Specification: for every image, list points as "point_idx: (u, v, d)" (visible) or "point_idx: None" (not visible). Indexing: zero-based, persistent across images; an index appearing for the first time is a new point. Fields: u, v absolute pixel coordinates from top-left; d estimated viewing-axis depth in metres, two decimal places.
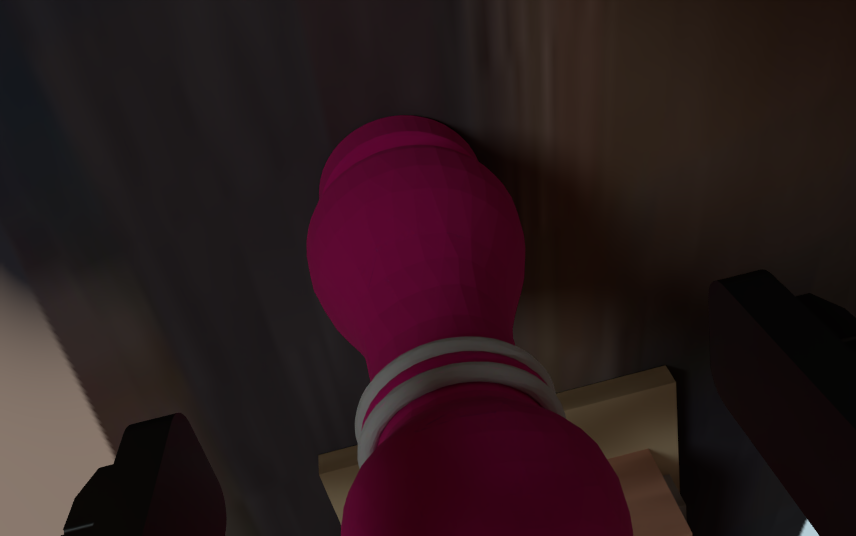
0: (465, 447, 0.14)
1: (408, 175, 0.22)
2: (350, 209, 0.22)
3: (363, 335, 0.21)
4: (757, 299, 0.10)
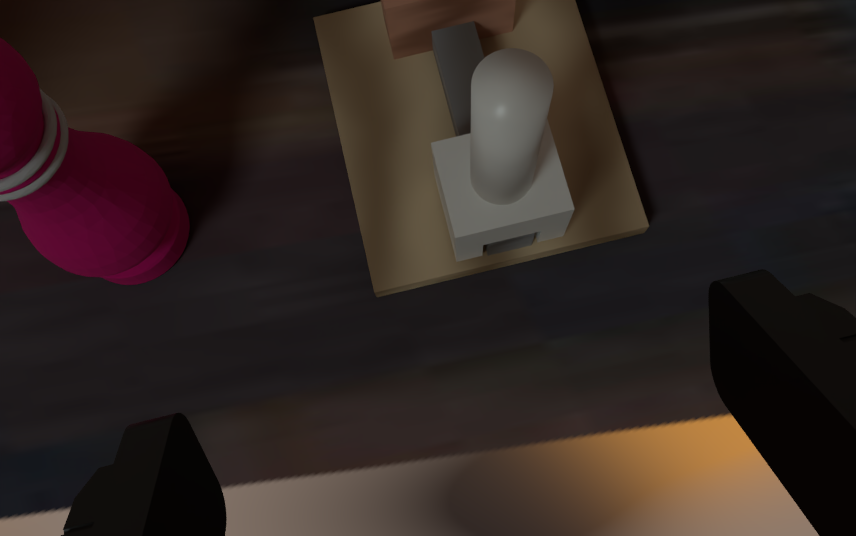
0: None
1: None
2: (29, 239, 0.37)
3: (29, 214, 0.33)
4: (757, 299, 0.10)
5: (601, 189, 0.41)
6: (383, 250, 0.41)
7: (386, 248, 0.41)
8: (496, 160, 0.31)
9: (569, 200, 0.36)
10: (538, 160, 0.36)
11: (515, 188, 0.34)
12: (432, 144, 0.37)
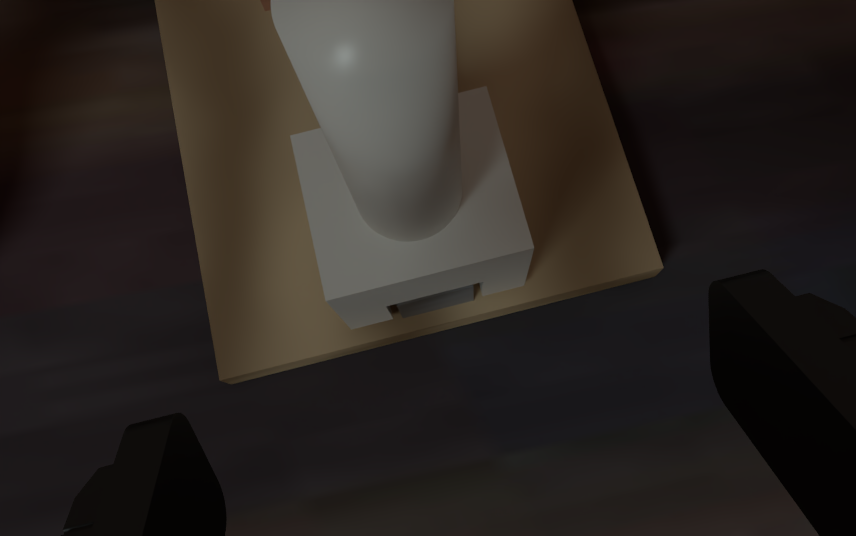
0: None
1: None
2: None
3: None
4: (757, 299, 0.10)
5: (586, 209, 0.25)
6: (236, 311, 0.25)
7: (242, 307, 0.25)
8: (363, 163, 0.15)
9: (525, 232, 0.20)
10: (472, 163, 0.21)
11: (422, 214, 0.19)
12: (292, 138, 0.22)
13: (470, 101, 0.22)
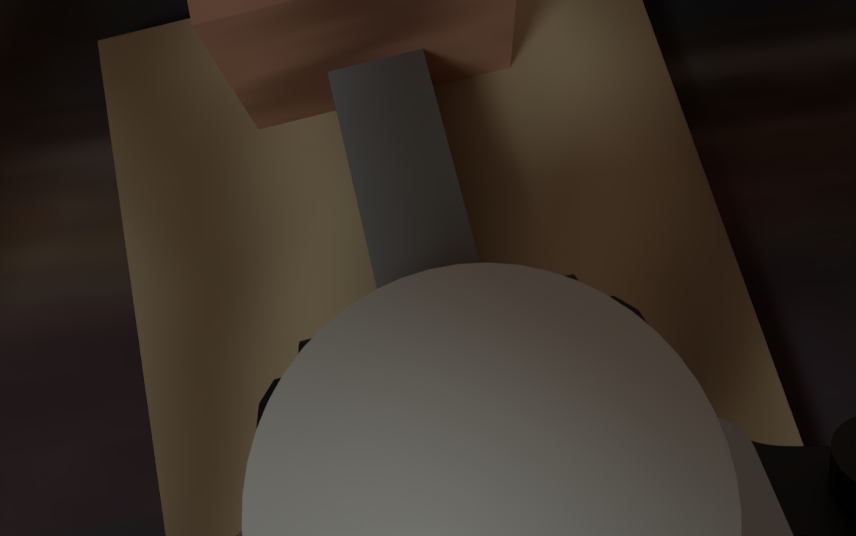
0: None
1: None
2: None
3: None
4: None
5: None
6: None
7: None
8: None
9: None
10: None
11: None
12: None
13: None
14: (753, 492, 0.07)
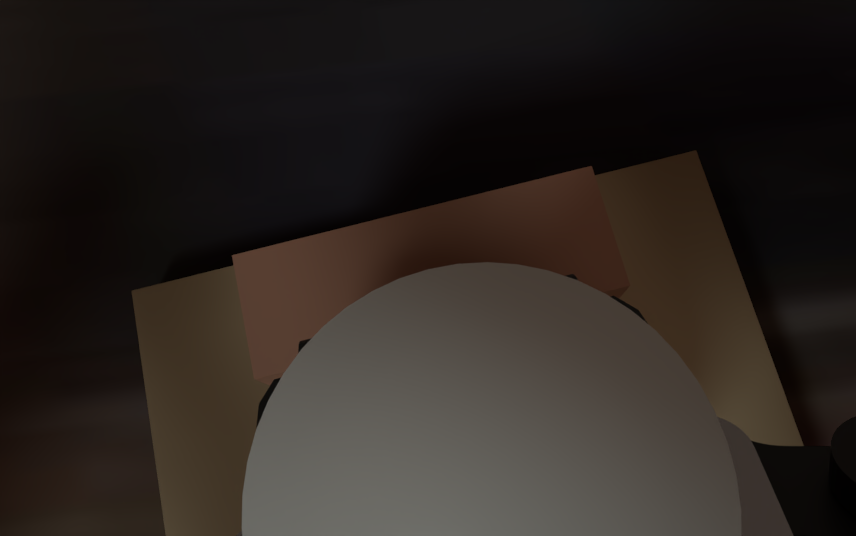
0: None
1: None
2: None
3: None
4: None
5: None
6: None
7: None
8: None
9: None
10: None
11: None
12: None
13: None
14: (753, 492, 0.07)
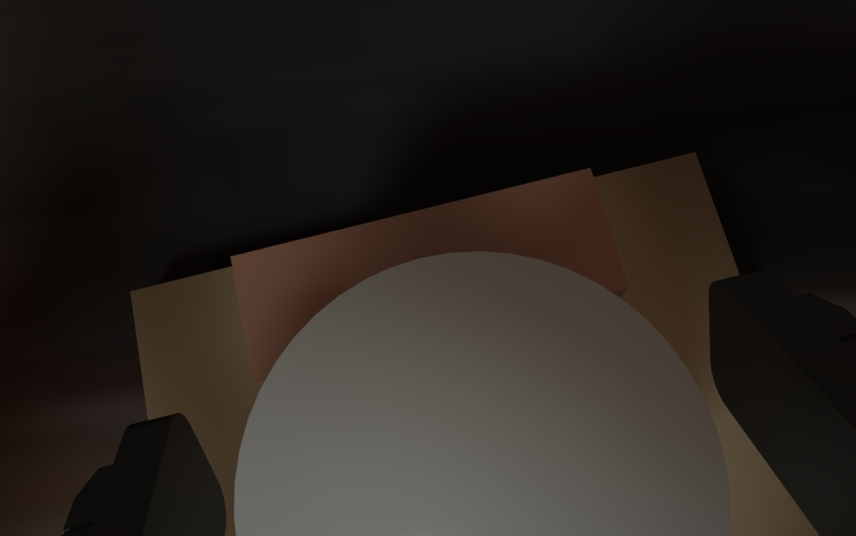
0: None
1: None
2: None
3: None
4: (757, 299, 0.10)
5: None
6: None
7: None
8: None
9: None
10: None
11: None
12: None
13: None
14: None
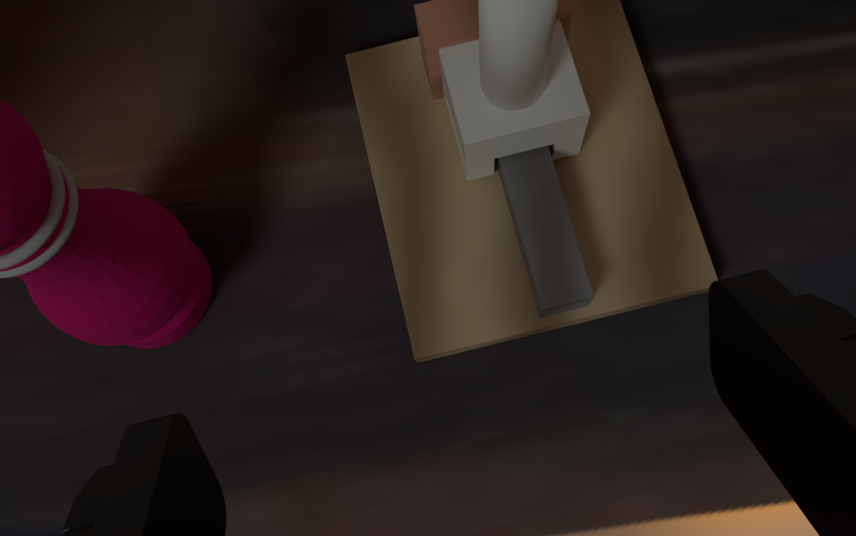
0: None
1: None
2: None
3: (35, 286, 0.30)
4: (757, 299, 0.10)
5: (665, 243, 0.37)
6: (424, 312, 0.37)
7: (427, 309, 0.37)
8: (506, 45, 0.29)
9: (584, 104, 0.34)
10: (551, 65, 0.35)
11: (527, 87, 0.32)
12: (440, 51, 0.35)
13: None
14: None
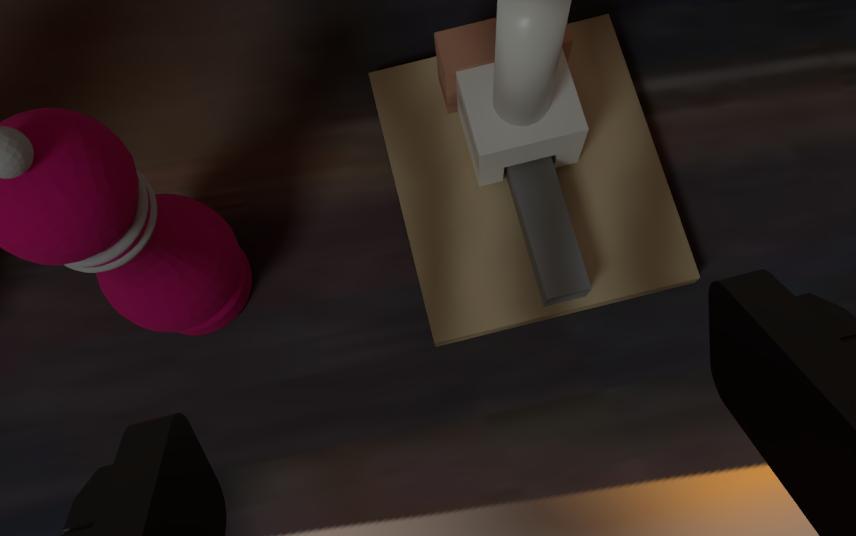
0: None
1: None
2: (107, 298, 0.38)
3: (114, 279, 0.35)
4: (757, 299, 0.10)
5: (653, 241, 0.42)
6: (442, 302, 0.42)
7: (445, 300, 0.42)
8: (519, 73, 0.34)
9: (583, 121, 0.39)
10: (555, 86, 0.40)
11: (535, 107, 0.37)
12: (457, 73, 0.40)
13: None
14: None
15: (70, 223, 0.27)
